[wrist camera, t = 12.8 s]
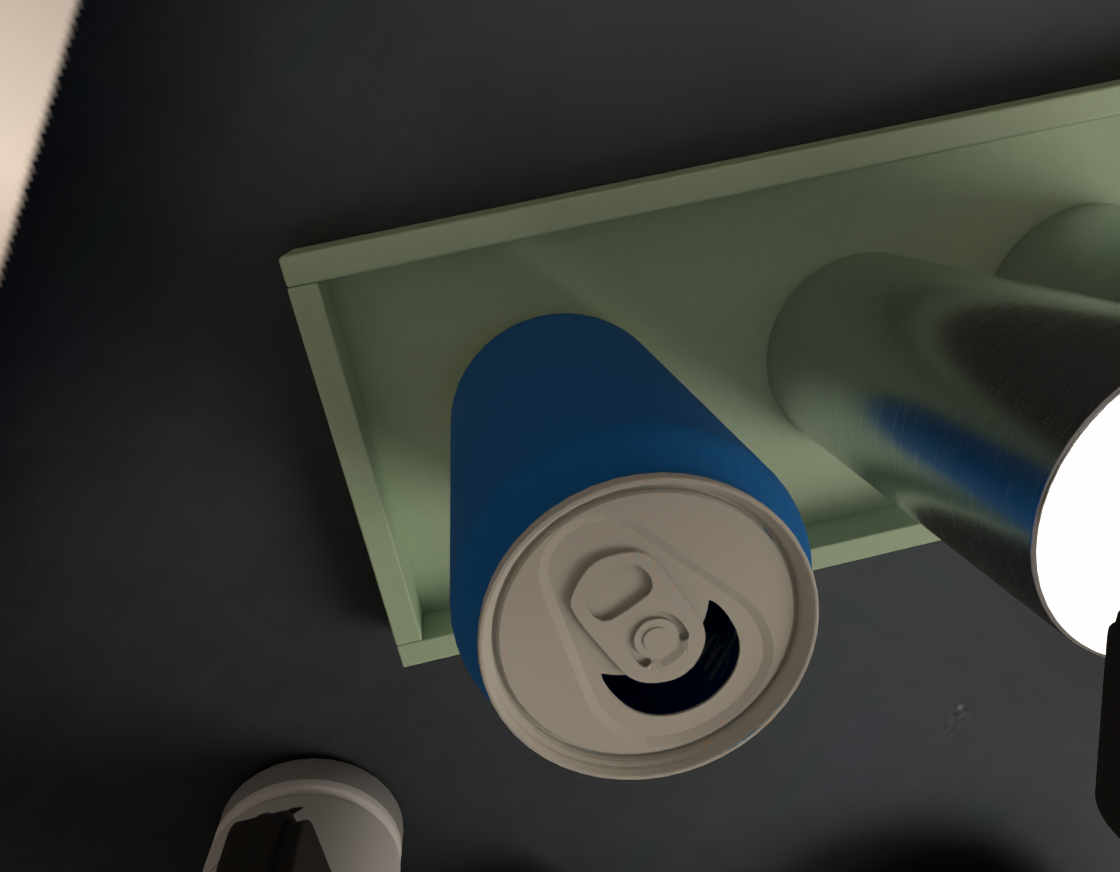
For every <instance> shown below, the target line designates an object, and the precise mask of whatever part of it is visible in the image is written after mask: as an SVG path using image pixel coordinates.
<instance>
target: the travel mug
mask: <svg viewBox="0 0 1120 872" xmlns="http://www.w3.org/2000/svg"><path fill="white" fill-rule="evenodd" d="M283 810H289V811H290V812H291V813H292V814H293V816H294V817H295V819H296V821H297V822H298V821H302V820H307V819H308V820H309V821H310V822H311V823H312V825H313V827H314V829H315V832H316V834H317V837H318V839H319V842H320V844H321V847H322V849H323V852H324V854H325V857H326V859H327V862H328V864H329V867H330V869H331V872H400V868H401V867H400V861H401V854H402V840H403V821H402V814H401V811H400V809H399V806H398V803H397V801H396V800H395V798H394V797H393V795H392V794H391V792H390V791H389V789H388V788H387V787H385V786H384V785H383V784H382V783H381V782H380V781H379V780H378V779H377V778H376V777H374V776H373V775H371V774H370V773H368V772H366V771H365V770H363V769H361V768H358V767H356V766H353V765H351V764H348V763H345V762H340V761H336V760H331V759H317V758H309V759H299V760H292V761H288V762H285V763H281V764H277V765H275V766H272V767H270V768H268V769H266V770H263V771H261V772H259V773H258V774H256V775H255V776H253V777H252V778H250V779H249V780H247V781H246V782H244V783H243V784H242V785H241V786H240V788H239V789H238V790H237V791H236V792H235V793H234V794H233V795H232V796H231V798H230V800H229V801H228V803H227V804H226V806H225V808H224V811H223V814H222V817H221V820H220V822H219V825H218V828H217V831H216V834H215V837H214V840H213V843H212V846H211V848H210V851H209V854H208V857H207V860H206V863H205V865H204V868H203V871H202V872H216V869H217V866H218V863H219V859H220V856H221V853H222V850H223V847H224V844H225V841H226V838H227V835H228V832H229V830H230V828H231V826H232V825H233V824H234V823H235V822H238V821H242V820H246V819H251V818H255V817H259V816H263V815H267V814H271V813H275V812H279V811H283Z"/></svg>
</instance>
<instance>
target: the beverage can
mask: <svg viewBox="0 0 1120 872" xmlns="http://www.w3.org/2000/svg"><path fill="white" fill-rule="evenodd" d="M450 613H451V625H452V629H453V633H454V637H455V641H456V645H457V648H458V650H459V652H460V655H461V657H462V660H463V662H464V665H465V667H466V669H467V670H468V672H469V674H470V675H471V677H472V679H473V680H474V682H475V684H476V685H477V687H478V688H479V689H480V690H481V691H482V693H483V694H484V695H485V696H486V697H487V699H488V700H489V701H490V702H491V703H492V704H493V706H494V708H495V709H496V711H497V713H498V714H499V716H500V718H501V719H502V721H503V722H504V723H505V724H506V725H507V727H508V728H509V729H510V730H511V731H512V733H513V734H514V735H515V736H516V737H518V738H519V739H520V740H521V741H522V742H523V743H524V744H525V745H526V746H527V747H529V748H530V749H532V750H533V751H535V752H536V753H538V754H539V755H541V756H542V757H544V758H546V759H548V760H550V761H552V762H554V763H555V764H557V765H559V766H561V767H564V768H567V769H570V770H573V771H576V772H579V773H582V774H586V775H591V776H596V777H600V778H610V779H619V780H635V779H649V778H658V777H664V776H669V775H673V774H678V773H682V772H685V771H688V770H691V769H694V768H697V767H700V766H703V765H705V764H707V763H710V762H712V761H714V760H716V759H718V758H721V757H723V756H724V755H726V754H728V753H729V752H731V751H733V750H734V749H736V748H738V747H740V746H741V745H742V744H744V743H745V742H746V741H748V740H749V739H750V738H752V737H753V736H755V735H756V734H757V733H758V732H759V731H760V730H761V729H763V728H764V727H765V726H766V725H767V724H768V723H769V722H770V721H771V720H772V719H773V718H774V717H775V716H776V715H777V713H778V712H779V711H780V710H781V709H782V708H783V707H784V705H785V704H786V703H787V701H788V700H789V698H790V697H791V696H792V694H793V693H794V691H795V690H796V688H797V687H798V685H799V683H800V681H801V679H802V677H803V675H804V673H805V671H806V669H807V666H808V664H809V661H810V658H811V656H812V653H813V649H814V645H815V641H816V636H817V631H818V619H819V605H818V592H817V588H816V583H815V578H814V574H813V572H812V559H811V550H810V545H809V540H808V536H807V532H806V529H805V526H804V523H803V521H802V518H801V515H800V513H799V510H798V508H797V506H796V504H795V503H794V501H793V499H792V497H791V496H790V494H789V492H788V490H787V489H786V488H785V487H784V485H783V484H782V483H781V481H780V480H779V479H778V478H777V476H776V475H775V474H774V473H773V472H772V471H771V470H770V469H769V468H768V467H767V466H766V465H765V464H764V463H763V462H762V461H761V460H760V459H759V458H758V457H757V456H756V455H755V454H754V453H753V452H752V451H751V450H750V449H749V448H748V447H747V446H746V445H745V444H743V443H742V442H741V441H740V440H739V439H738V438H737V437H736V436H735V435H734V434H733V433H732V432H731V431H730V430H729V429H728V428H727V427H726V426H725V425H724V424H723V423H722V422H721V421H720V420H719V419H718V418H717V417H716V416H715V415H714V414H713V413H712V412H711V411H710V410H709V409H708V408H707V407H706V406H705V405H704V404H703V403H702V402H701V401H700V400H698V399H697V398H696V397H695V396H694V395H693V394H692V393H691V392H690V391H689V390H688V389H687V388H686V387H685V386H684V385H683V384H682V383H681V382H680V381H679V380H678V379H677V378H676V377H675V376H674V375H673V374H672V373H671V372H670V371H669V370H668V369H667V368H666V367H665V366H664V365H663V364H662V363H661V362H660V361H659V360H658V359H657V358H656V357H655V356H654V355H652V354H651V353H650V352H649V351H648V350H647V349H646V348H645V347H644V346H643V345H642V344H641V343H640V342H639V341H638V340H637V339H636V338H635V337H633V336H632V335H631V334H629V333H628V332H626V331H625V330H624V329H622V328H620V327H618V326H616V325H614V324H612V323H610V322H608V321H605V320H602V319H599V318H597V317H592V316H587V315H583V314H571V313H560V314H549V315H544V316H538V317H534V318H531V319H528V320H525V321H522V322H520V323H518V324H516V325H514V326H512V327H510V328H508V329H506V330H505V331H503V332H502V333H500V334H498V335H497V336H495V337H494V338H493V339H492V340H491V341H490V342H488V343H487V344H486V345H485V346H484V347H483V348H482V349H481V350H480V351H479V352H478V353H477V355H476V356H475V357H474V358H473V359H472V361H471V362H470V364H469V365H468V367H467V368H466V370H465V372H464V374H463V376H462V378H461V379H460V381H459V384H458V387H457V390H456V392H455V395H454V400H453V405H452V410H451V424H450Z"/></svg>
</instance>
